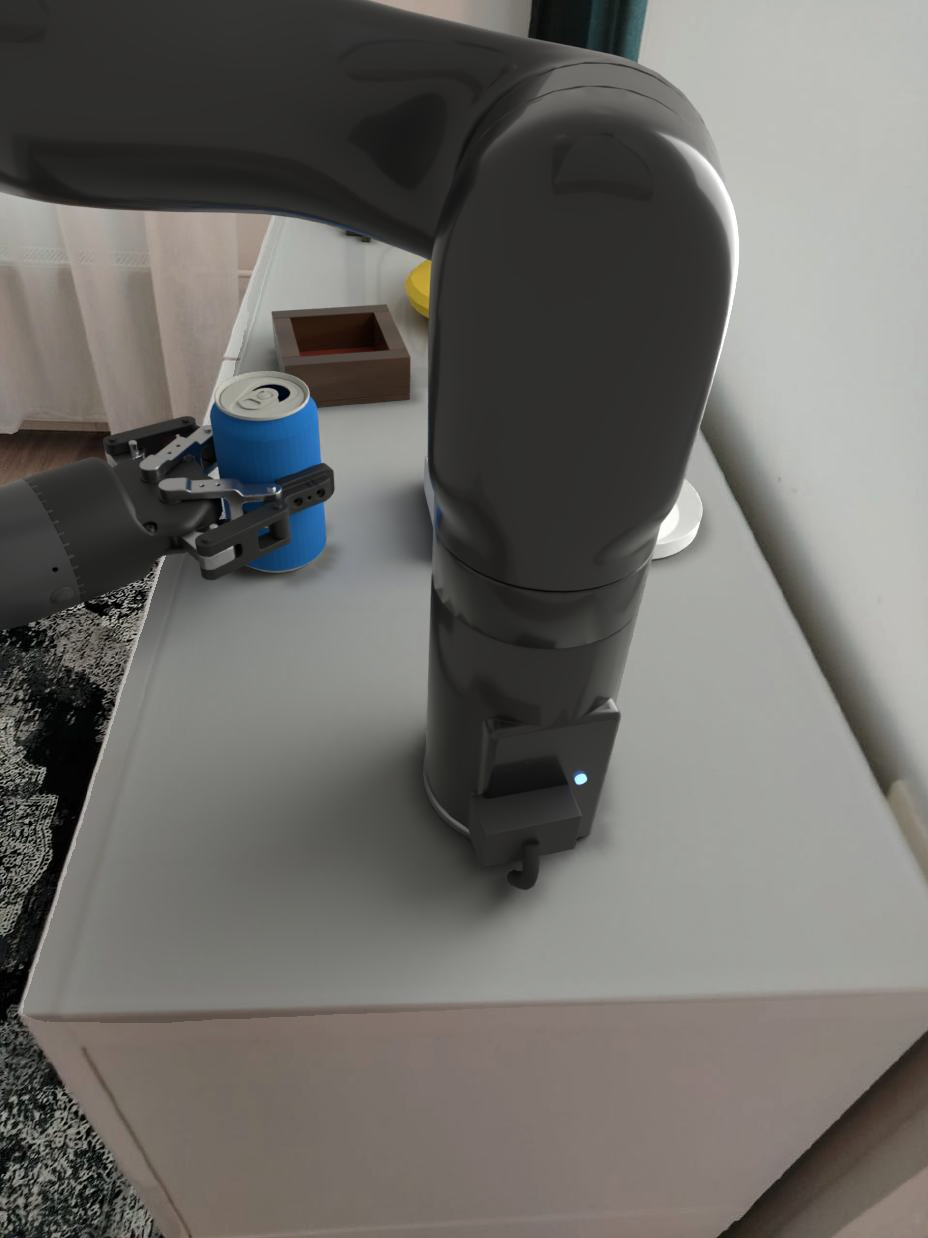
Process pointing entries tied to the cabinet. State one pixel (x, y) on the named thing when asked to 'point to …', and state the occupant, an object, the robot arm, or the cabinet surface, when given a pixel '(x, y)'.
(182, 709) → the cabinet surface
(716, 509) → the cabinet surface
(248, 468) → the beverage can
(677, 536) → the white flat rounded piece
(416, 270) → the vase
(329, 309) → the brown wooden open box
